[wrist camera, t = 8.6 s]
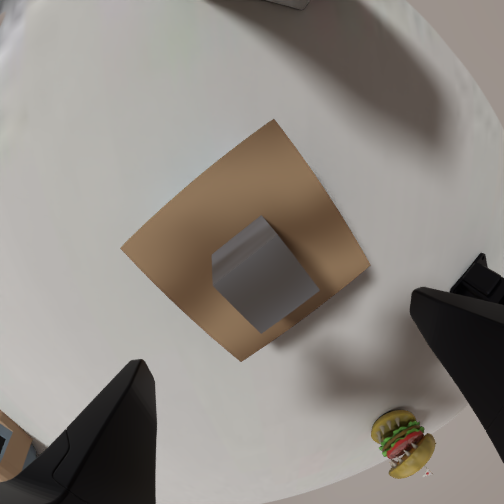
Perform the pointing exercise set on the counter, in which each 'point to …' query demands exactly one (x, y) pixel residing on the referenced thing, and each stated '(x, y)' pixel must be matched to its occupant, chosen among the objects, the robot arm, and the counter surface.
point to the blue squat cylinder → (13, 448)
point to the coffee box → (292, 3)
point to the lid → (249, 244)
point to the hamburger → (403, 442)
